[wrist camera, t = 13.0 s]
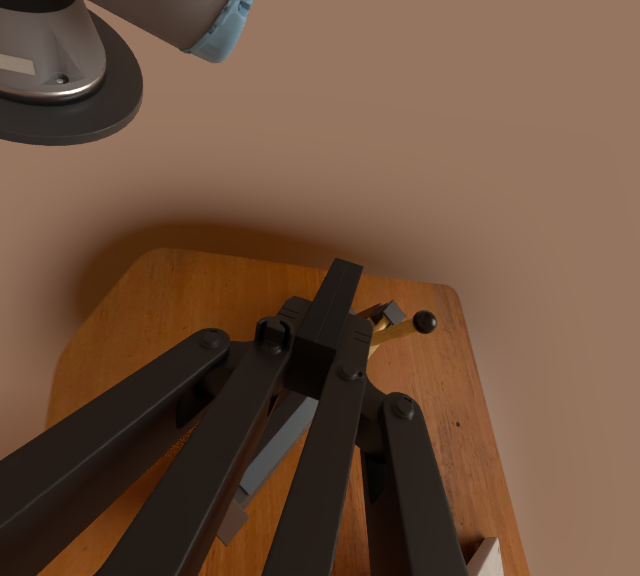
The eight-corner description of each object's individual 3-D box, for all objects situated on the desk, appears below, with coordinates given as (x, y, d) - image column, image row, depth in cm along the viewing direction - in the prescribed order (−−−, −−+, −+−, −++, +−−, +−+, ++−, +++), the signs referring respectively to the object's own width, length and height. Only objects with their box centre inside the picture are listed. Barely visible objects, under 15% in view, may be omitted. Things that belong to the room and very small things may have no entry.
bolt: (367, 355, 37) (436, 335, 28) (355, 340, 37) (420, 316, 28) (396, 318, 41) (463, 291, 33) (385, 305, 41) (450, 275, 32)
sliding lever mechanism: (219, 535, 31) (248, 572, 23) (171, 481, 30) (184, 501, 23) (374, 341, 48) (420, 325, 40) (344, 305, 47) (385, 282, 40)
